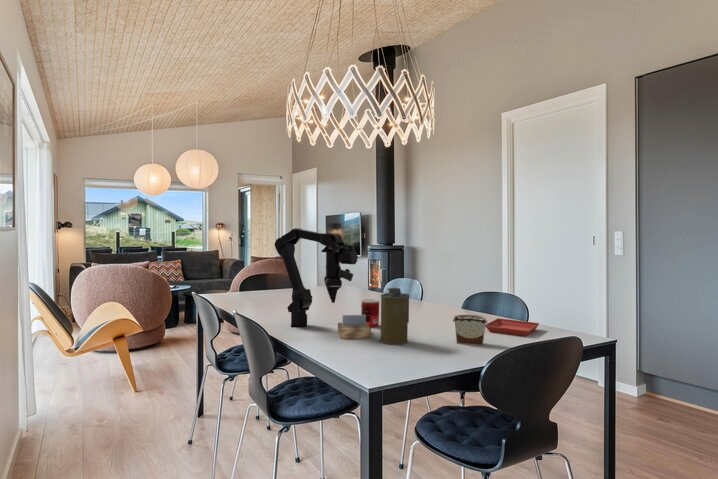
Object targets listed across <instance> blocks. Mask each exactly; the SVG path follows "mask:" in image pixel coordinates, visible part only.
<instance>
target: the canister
mask: <svg viewBox="0 0 718 479" xmlns="http://www.w3.org/2000/svg"><path fill="white" fill-rule="evenodd" d="M386 290H387V291H388V293H382V294H380V340H379V341H380V342H381V343H382V344H384V345H391V346H392V345H393V346H396V345H398V346H401V345H404V344H405V345H406V344H408V343H409V340H408V333H409V332H408V326H409V323H410V322H409V320H410V319H409V318H410V317H409V316H410V315H409V314H410V294H409V293H405V292H404V293H402V291H401V288H399V287H388V288H387V289H386Z"/></svg>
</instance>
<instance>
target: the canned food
mask: <svg viewBox="0 0 718 479" xmlns="http://www.w3.org/2000/svg"><path fill="white" fill-rule="evenodd" d="M360 306H361V307H360V308H361V312H360V313H361V314H360V315H366V322H367V324H369V326H370V328H376V327H379V324H380V300H379V299H375V298H371V299H370V298H365V299H364V298H363V299H362V300H361V304H360Z"/></svg>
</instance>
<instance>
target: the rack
mask: <svg viewBox="0 0 718 479" xmlns="http://www.w3.org/2000/svg"><path fill="white" fill-rule="evenodd" d="M337 334H338V337H339V339H341V340H343V339H344V340H345V339H371V338H372V327H370V326H369V324H367V322H366V326H342V322H337Z"/></svg>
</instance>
